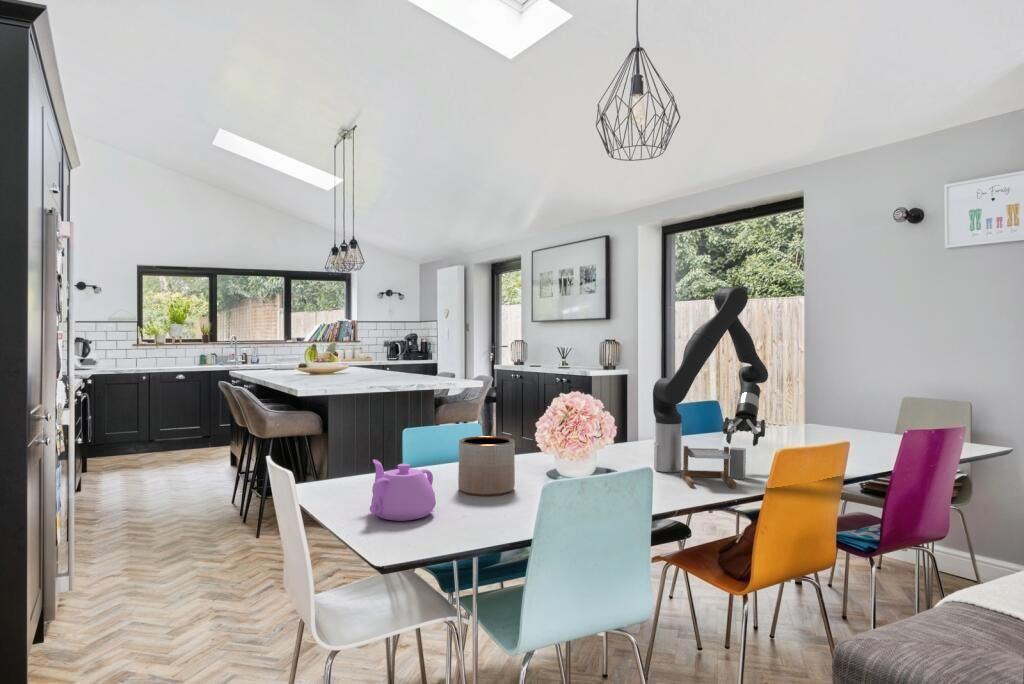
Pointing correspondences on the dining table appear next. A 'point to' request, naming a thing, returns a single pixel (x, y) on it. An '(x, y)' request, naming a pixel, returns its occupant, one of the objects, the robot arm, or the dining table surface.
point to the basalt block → (737, 463)
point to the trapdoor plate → (708, 453)
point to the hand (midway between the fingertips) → (741, 443)
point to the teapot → (402, 493)
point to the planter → (486, 465)
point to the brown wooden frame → (687, 473)
